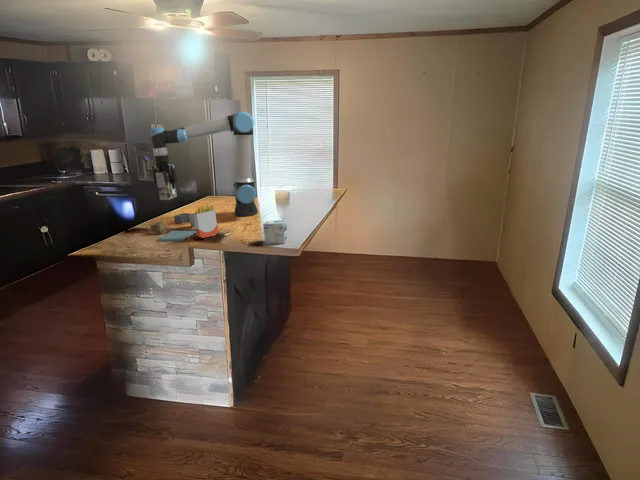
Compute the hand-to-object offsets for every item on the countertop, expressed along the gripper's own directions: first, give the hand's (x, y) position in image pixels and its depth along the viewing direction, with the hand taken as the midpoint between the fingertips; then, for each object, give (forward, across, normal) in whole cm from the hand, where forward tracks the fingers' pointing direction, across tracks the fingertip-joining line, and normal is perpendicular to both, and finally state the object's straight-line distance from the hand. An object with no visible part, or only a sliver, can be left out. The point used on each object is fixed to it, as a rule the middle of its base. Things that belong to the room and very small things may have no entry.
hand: (168, 194), depth 259 cm
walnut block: (+21, -3, -11) cm, 24 cm away
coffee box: (+3, 0, 0) cm, 3 cm away
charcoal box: (+21, -2, +14) cm, 25 cm away
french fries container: (+21, +32, -20) cm, 43 cm away
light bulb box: (+21, +74, -27) cm, 82 cm away
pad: (+21, +13, -18) cm, 30 cm away
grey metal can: (+21, +14, +2) cm, 25 cm away
